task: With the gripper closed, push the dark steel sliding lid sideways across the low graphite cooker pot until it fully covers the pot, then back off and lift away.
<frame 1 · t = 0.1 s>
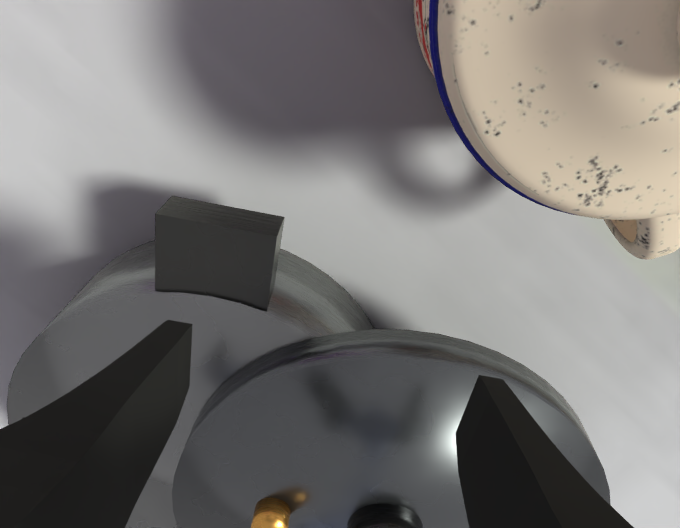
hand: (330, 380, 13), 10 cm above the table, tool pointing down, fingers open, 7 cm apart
cooker pot: (227, 376, 26), on the table
cooker lid: (384, 525, 21), point 7 cm above the table, slide at 8.0 cm
teacup with lid: (548, 36, 18), on the table
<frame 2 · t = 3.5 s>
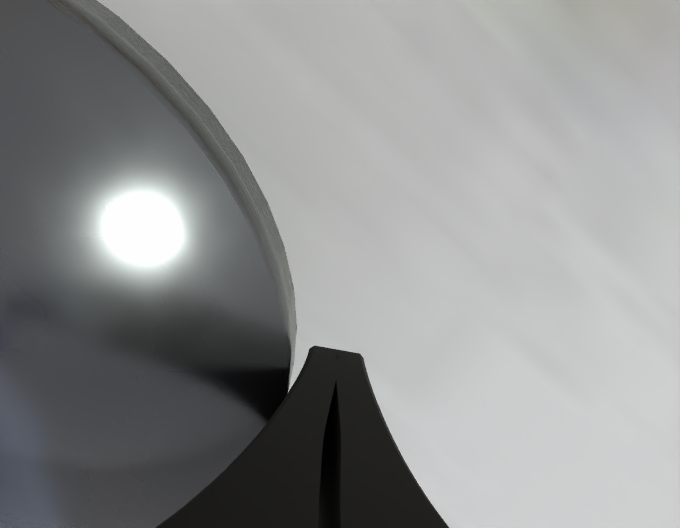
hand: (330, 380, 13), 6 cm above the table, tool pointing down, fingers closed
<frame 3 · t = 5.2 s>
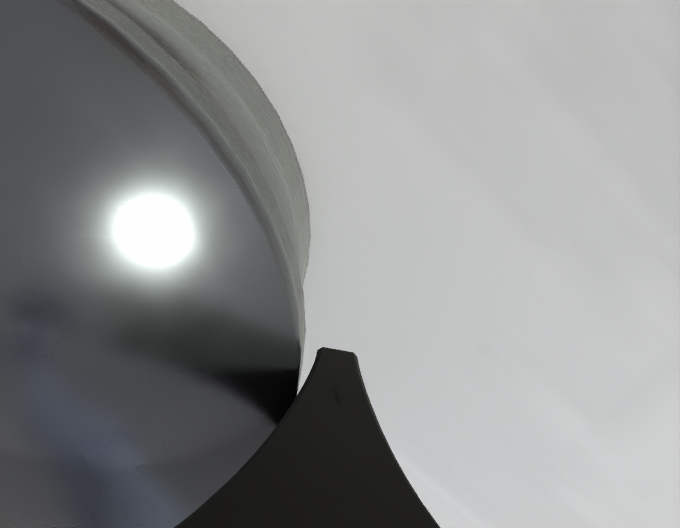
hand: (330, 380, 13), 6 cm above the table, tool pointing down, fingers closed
cooker pot: (75, 220, 18), on the table
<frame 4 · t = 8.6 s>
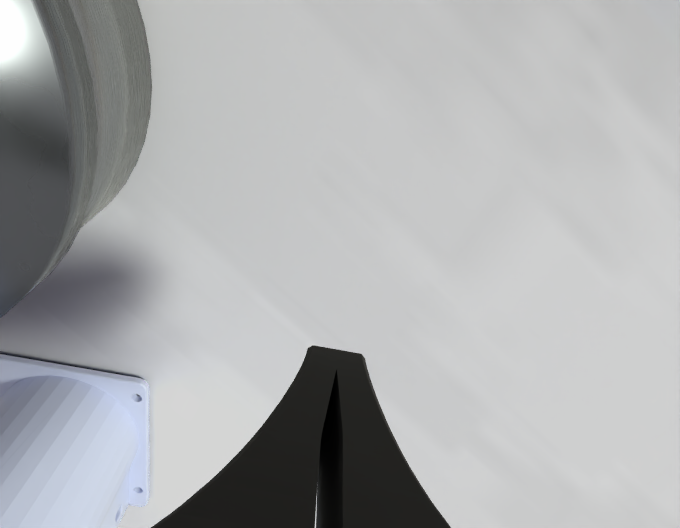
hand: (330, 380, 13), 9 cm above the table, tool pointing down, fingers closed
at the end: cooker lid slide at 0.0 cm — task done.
